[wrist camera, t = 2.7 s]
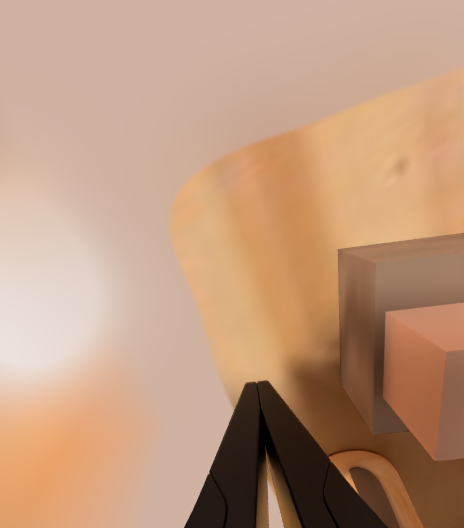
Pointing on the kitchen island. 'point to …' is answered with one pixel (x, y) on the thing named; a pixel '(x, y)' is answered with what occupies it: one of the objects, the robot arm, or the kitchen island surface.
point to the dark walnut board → (389, 299)
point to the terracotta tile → (427, 375)
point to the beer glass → (378, 487)
